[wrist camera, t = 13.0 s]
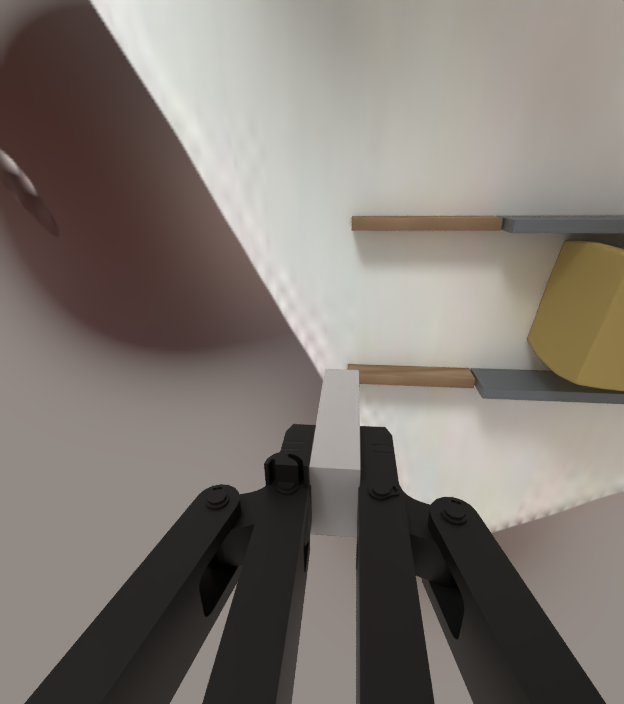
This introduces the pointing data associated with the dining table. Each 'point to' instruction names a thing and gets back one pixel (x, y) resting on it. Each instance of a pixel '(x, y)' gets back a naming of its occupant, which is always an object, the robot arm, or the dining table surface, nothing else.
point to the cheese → (583, 316)
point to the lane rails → (413, 373)
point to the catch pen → (547, 382)
